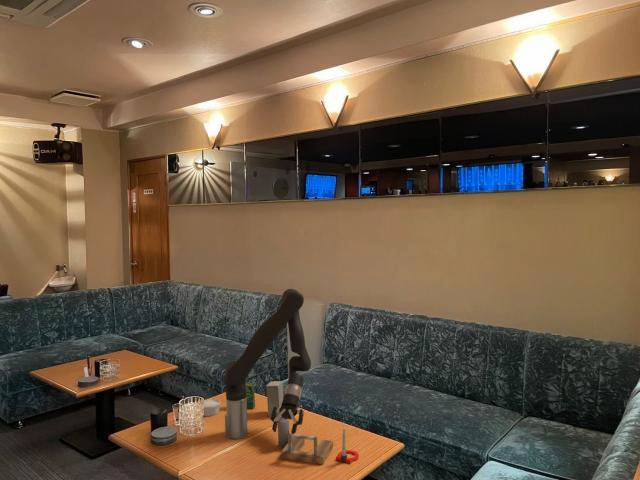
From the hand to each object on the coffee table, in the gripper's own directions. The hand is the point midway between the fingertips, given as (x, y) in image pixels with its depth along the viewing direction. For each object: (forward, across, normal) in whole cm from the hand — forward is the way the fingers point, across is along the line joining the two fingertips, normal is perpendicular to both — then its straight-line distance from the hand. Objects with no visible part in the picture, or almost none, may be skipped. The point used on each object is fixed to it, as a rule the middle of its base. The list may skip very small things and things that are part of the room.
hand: (283, 432), depth 197 cm
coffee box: (-21, -35, +30) cm, 50 cm away
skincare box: (-18, -17, +27) cm, 36 cm away
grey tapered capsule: (+4, 0, +5) cm, 6 cm away
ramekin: (-13, -51, +22) cm, 57 cm away
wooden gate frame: (+6, +12, +3) cm, 14 cm away
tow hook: (+6, +29, +4) cm, 30 cm away
